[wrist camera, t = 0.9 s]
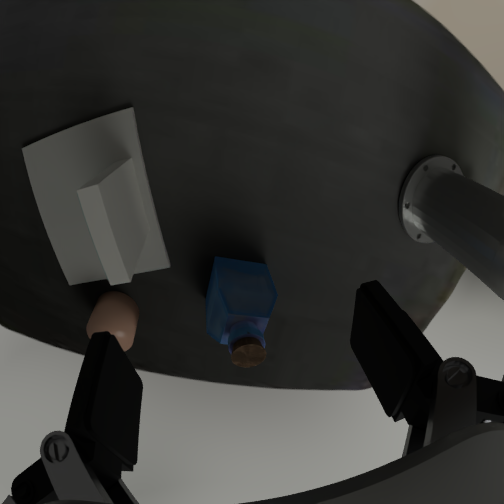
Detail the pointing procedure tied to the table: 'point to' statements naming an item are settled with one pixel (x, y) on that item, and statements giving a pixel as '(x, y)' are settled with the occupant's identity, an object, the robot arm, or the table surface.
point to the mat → (79, 173)
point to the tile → (115, 219)
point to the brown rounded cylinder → (115, 317)
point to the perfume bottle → (240, 308)
